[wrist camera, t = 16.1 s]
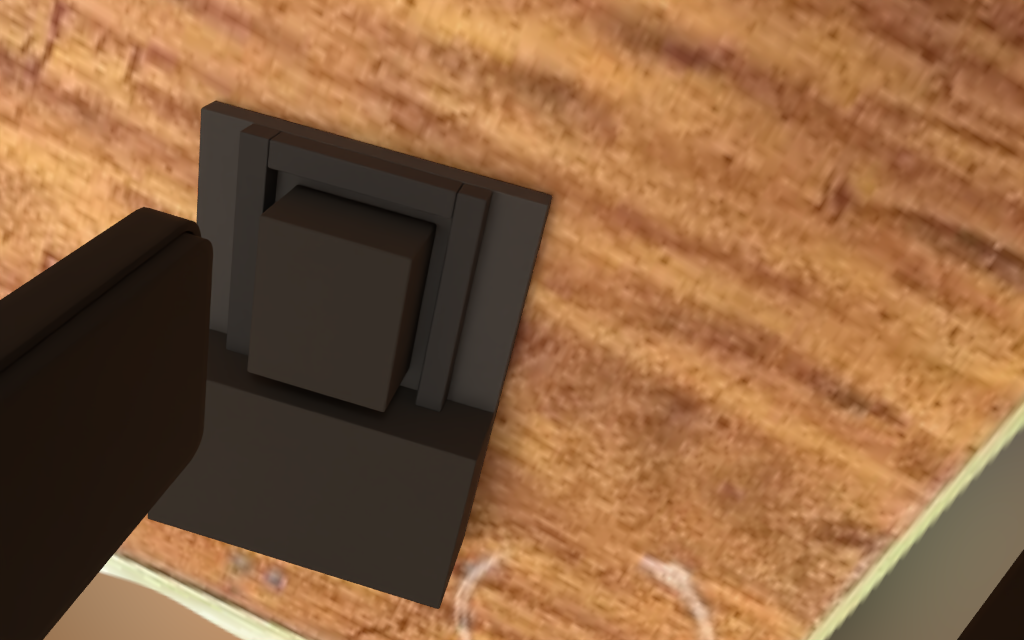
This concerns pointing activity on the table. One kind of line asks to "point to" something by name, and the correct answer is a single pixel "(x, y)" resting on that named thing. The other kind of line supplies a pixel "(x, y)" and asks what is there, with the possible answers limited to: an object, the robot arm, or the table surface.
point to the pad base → (337, 423)
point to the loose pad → (337, 295)
